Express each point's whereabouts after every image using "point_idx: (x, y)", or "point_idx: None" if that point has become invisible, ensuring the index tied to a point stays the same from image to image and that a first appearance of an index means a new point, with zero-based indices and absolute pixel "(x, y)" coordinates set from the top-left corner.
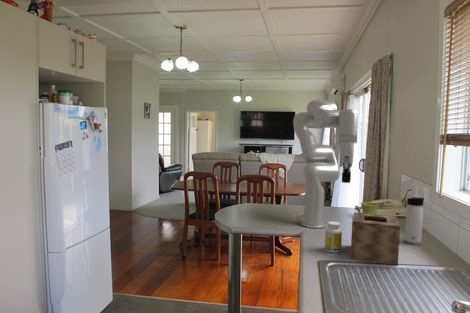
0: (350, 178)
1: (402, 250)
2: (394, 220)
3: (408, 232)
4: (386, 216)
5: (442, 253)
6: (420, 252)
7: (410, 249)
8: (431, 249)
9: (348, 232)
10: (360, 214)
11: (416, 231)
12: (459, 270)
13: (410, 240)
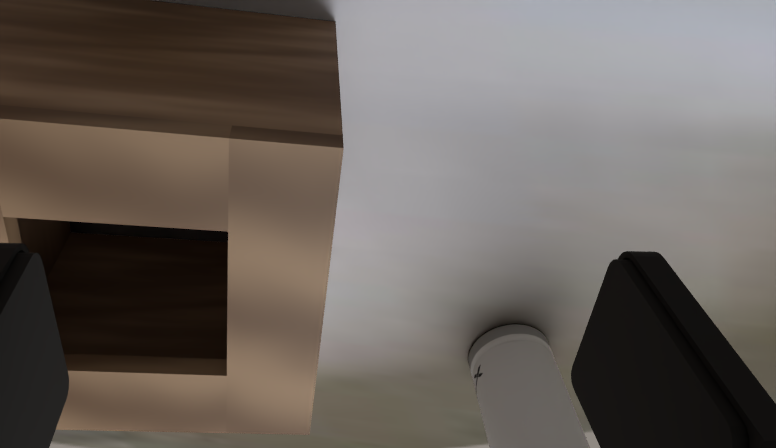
0: (594, 411)
1: (344, 293)
2: (149, 413)
3: (499, 380)
4: (276, 379)
5: (361, 428)
6: (341, 359)
7: (377, 328)
8: (410, 402)
9: (699, 11)
10: (259, 200)
11: (483, 419)
12: (140, 441)
13: (481, 354)
